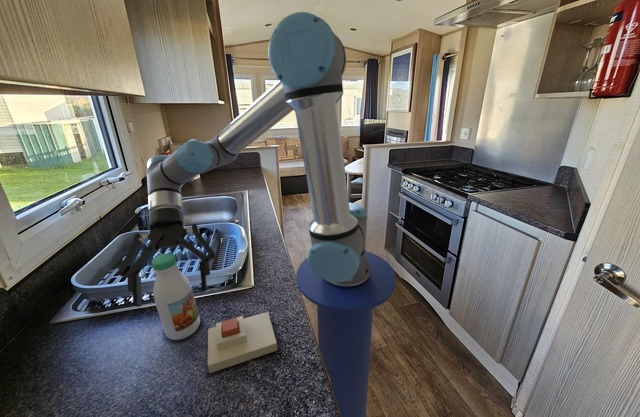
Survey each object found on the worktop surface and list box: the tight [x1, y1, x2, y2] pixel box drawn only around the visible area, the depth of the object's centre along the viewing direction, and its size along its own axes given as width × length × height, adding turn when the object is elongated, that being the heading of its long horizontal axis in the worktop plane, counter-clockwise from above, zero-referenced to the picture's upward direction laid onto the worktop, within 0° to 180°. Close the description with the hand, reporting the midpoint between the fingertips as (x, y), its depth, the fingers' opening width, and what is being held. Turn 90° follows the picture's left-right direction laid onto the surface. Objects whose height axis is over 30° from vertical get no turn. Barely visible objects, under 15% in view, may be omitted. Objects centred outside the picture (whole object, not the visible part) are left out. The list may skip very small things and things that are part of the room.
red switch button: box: [221, 317, 239, 338], centre depth 58 cm, size 3×3×2 cm
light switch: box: [207, 311, 278, 374], centre depth 59 cm, size 14×10×4 cm
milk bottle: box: [150, 252, 201, 341], centre depth 60 cm, size 8×8×20 cm
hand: (172, 297), depth 59 cm, fingers open, 13 cm apart
